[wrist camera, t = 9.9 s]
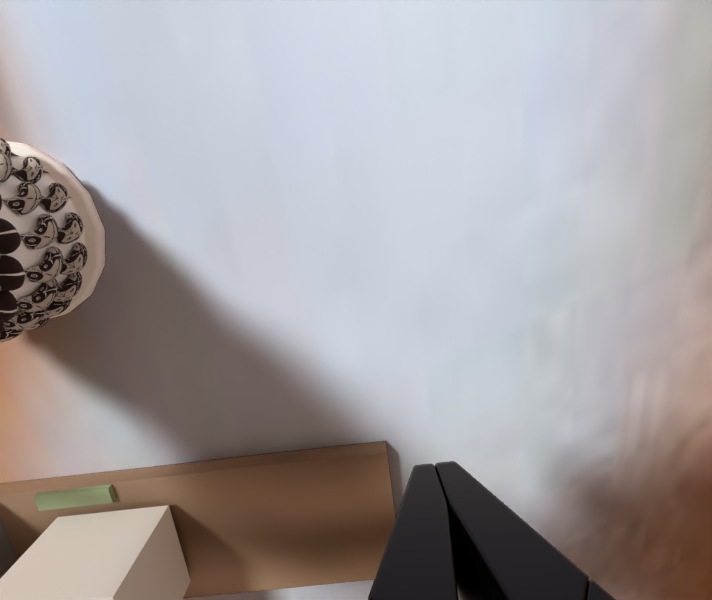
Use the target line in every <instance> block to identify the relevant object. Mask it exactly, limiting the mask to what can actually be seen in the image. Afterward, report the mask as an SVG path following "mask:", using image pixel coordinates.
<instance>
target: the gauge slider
mask: <svg viewBox="0 0 712 600" xmlns="http://www.w3.org/2000/svg"><path fill="white" fill-rule="evenodd" d="M190 581H191V580H190V577H189V573H188V570H187V566H186V563H185V560H184V556H183V553H182V549H181V546H180V542H179V539H178V535H177V532H176V529H175V525H174V522H173V518H172V515H171V511H170V508H169V505H166V506H157V507H147V508H138V509H129V510H119V511H110V512H101V513H91V514H82V515H72V516H63V517H57V518H56V519H55V521H54V522H53V523H52V524H51V525H50V526H49V527H48V528H47V529H46V530H45V531H44V532H43V533H42V535H41V536H40V537H39V538H38V539H37V540H36V541H35V542H34V543H33V544H32V545H31V546H30V547H29V548H28V550H27V551H26V552H25V553H24V554H23V555H22V556H21V557H20V558H19V559H18V560H17V561H16V562H15V564H14V565H13V566H12V567H11V568H10V569H9V570H8V571H7V572H6V573H5V574H4V575H3V576H2V578H1V579H0V600H183V597H184V595H185V593H186V590H187V588H188V586H189V583H190Z"/></svg>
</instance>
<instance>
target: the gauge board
mask: <svg viewBox="0 0 712 600" xmlns="http://www.w3.org/2000/svg"><path fill="white" fill-rule="evenodd" d="M166 505H169V508H170V511H171V515H172V518H173V522H174V525H175V529H176V532H177V535H178V539H179V542H180V546H181V549H182V553H183V556H184V560H185V563H186V566H187V570H188V573H189V577H190V580H191V581H190V583H189V586H188V588H187V590H186V593H185V595H184V597H183V598H191V597H201V596H211V595H221V594H231V593H242V592H252V591H262V590H272V589H282V588H293V587H303V586H313V585H323V584H333V583H343V582H354V581H364V580H374V579H375V577H376V574H377V571H378V568H379V565H380V562H381V559H382V557H383V554H384V551H385V548H386V545H387V542H388V539H389V536H390V533H391V531H392V528H393V525H394V522H395V511H394V503H393V495H392V487H391V479H390V471H389V463H388V455H387V447H386V441H380V442H371V443H362V444H353V445H344V446H335V447H326V448H317V449H308V450H299V451H290V452H281V453H272V454H263V455H254V456H245V457H236V458H227V459H218V460H209V461H200V462H191V463H182V464H173V465H163V466H154V467H145V468H136V469H127V470H118V471H109V472H100V473H91V474H82V475H73V476H64V477H55V478H46V479H37V480H28V481H19V482H10V483H1V484H0V579H1V578H2V576H3V575H4V574H5V573H6V572H7V571H8V570H9V569H10V568H11V567H12V566H13V565H14V564H15V562H16V561H17V560H18V559H19V558H20V557H21V556H22V555H23V554H24V553H25V552H26V551H27V550H28V548H29V547H30V546H31V545H32V544H33V543H34V542H35V541H36V540H37V539H38V538H39V537H40V536H41V535H42V533H43V532H44V531H45V530H46V529H47V528H48V527H49V526H50V525H51V524H52V523H53V522H54V521H55V519H56V518H57V517H63V516H72V515H82V514H91V513H101V512H110V511H119V510H129V509H138V508H147V507H157V506H166Z"/></svg>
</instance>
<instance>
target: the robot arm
mask: <svg viewBox="0 0 712 600" xmlns="http://www.w3.org/2000/svg"><path fill="white" fill-rule="evenodd" d="M458 596H459V599H460V600H616V599H614V598H613V597H612V596H611V595H610V594H609V593H607V592H606V591H605V590H604V589H603V588H602V587H600V586H599V585H598V584H597V583H596V582H595V581H593V580H590V581H589V577H588V576H587V575H586V574H585V573H584V572H583V571H582V570H580V569H579V568H578V567H577V566H576V565H575V564H573V563H572V562H571V561H570V560H569V559H568V558H567V557H565V556H564V555H563V554H562V553H561V552H560V551H558V550H557V549H556V548H555V547H554V546H553V545H551V544H550V543H549V542H548V541H547V540H546V539H544V538H543V537H542V536H541V535H540V534H539V533H538V532H536V531H535V530H534V529H533V528H532V527H531V526H529V525H528V524H527V523H526V522H525V521H524V520H522V519H521V518H520V517H519V516H518V515H517V514H515V513H514V512H513V511H512V510H511V509H510V508H509V507H507V506H506V505H505V504H504V503H503V502H502V501H500V500H499V499H498V498H497V497H496V496H495V495H493V494H492V493H491V492H490V491H489V490H488V489H486V488H485V487H484V486H483V485H482V484H481V483H480V482H478V481H477V480H476V479H475V478H474V477H473V476H471V475H470V474H469V473H468V472H467V471H466V470H464V469H463V468H462V467H461V466H460V465H459V464H457V463H456V462H454V461H450V462H441V463H436V465H435V466H434V465H433V464H422V465H415V466H414V467H413V470H412V473H411V476H410V478H409V481H408V484H407V487H406V490H405V493H404V496H403V499H402V502H401V504H400V507H399V510H398V513H397V516H396V519H395V522H394V525H393V528H392V531H391V533H390V536H389V539H388V542H387V545H386V548H385V551H384V554H383V557H382V559H381V562H380V565H379V568H378V571H377V574H376V577H375V580H374V583H373V585H372V588H371V591H370V594H369V597H368V600H459V599H458Z"/></svg>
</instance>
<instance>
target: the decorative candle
mask: <svg viewBox="0 0 712 600" xmlns="http://www.w3.org/2000/svg"><path fill="white" fill-rule="evenodd" d="M104 266H105V229H104V227H103V224H102V222H101V219H100V217H99V214H98V212H97V209H96V207H95V204H94V202H93V200H92V197H91V195H90V193H89V192H88V191H87V190H86V189H85V188H84V187H83V186H82V184H81V183H80V182H79V181H78V180H77V179H76V178H75V176H74V175H73V174H72V173H71V172H70V171H69V170H68V169H67V167H66V166H65V165H64V164H62V163H61V162H59V161H57V160H55V159H54V158H52V157H50V156H48V155H46V154H45V153H43V152H41V151H39V150H38V149H36V148H34V147H32V146H31V145H29V144H23V143H16V142H10V141H5V140H4V139H2V138H0V342H5V341H8V340H11V339H13V338H15V337H17V336H18V335H20V334H21V332H22V331H23V330H32V329H36V328H39V327H41V326H43V325H45V324H46V323H47V322H48V321H49V319H50V318H54V317H58V316H62V315H65V314H68V313H70V312H71V311H72V310H73V309H74V308H76V307H77V306H78V305H79V304H80V303H82V302H83V301H84V300H85V299H86V298H88V297H89V296H90V295H91V294H92V293H93V291H94V289H95V287H96V284H97V282H98V280H99V278H100V275H101V273H102V271H103V269H104Z"/></svg>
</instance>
